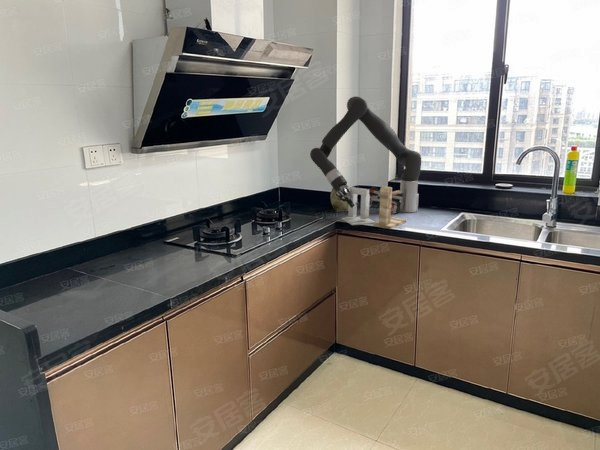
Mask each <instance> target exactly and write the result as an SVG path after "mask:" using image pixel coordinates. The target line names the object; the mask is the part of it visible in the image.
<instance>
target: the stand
mask: <svg viewBox="0 0 600 450" xmlns="http://www.w3.org/2000/svg"><path fill="white" fill-rule="evenodd" d="M379 190H380V192H379V193H380V208H379V212H378V213H379V214H378V215H379V217H378V221H377V222H376V221H375V222H376V223H372V224H373V225H372V226H373V227H378V228H382V229H388V230H391V229H394V228H395V227H398V226H401V225H403V224H405V223H407V219H403V218H397V217H391V216H392V214H391V201H392V196H393V195H396V194H399V193H400V189H398V190H394V191H393V187H391V186H382V187H380V189H379Z"/></svg>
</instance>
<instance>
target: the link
mask: <svg viewBox="0 0 600 450" xmlns="http://www.w3.org/2000/svg"><path fill="white" fill-rule="evenodd" d="M369 189H370V188H361V187H354V186H351V187H350V193H349V198H350V200H351V201H352V202H353V203H354V205H355V206H354V207H352V208H351V207H350V205H348V214H347V216H348V217H358V215H357V213H358V212H357V211H358V206H357V201H358V196H359V195H360V209H361V211H360V210H359V211H360V212H359V213H360V215H359V217H360V219H364V220H365V219H368V218H369V219H370V209H369V202H370V195H369ZM348 217H347V218H348Z"/></svg>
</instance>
